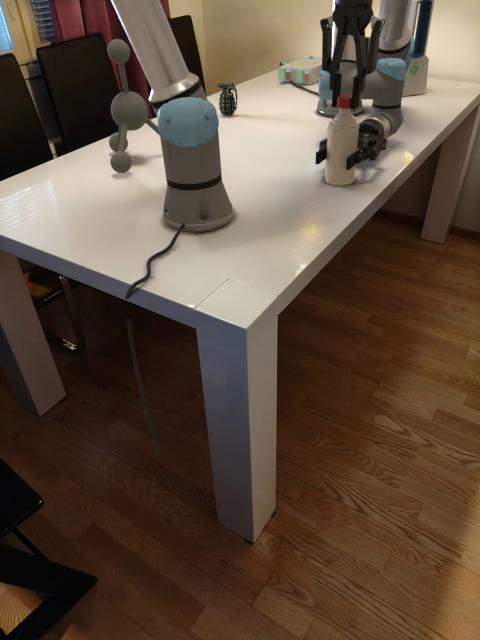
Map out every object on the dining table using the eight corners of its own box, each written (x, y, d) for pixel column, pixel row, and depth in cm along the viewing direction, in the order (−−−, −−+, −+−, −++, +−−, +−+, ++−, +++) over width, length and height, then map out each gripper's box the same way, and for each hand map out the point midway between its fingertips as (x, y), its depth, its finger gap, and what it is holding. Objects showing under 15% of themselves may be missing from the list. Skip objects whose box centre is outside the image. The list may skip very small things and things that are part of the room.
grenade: (217, 117, 168) (214, 86, 162) (221, 112, 172) (219, 82, 166) (235, 117, 166) (233, 86, 160) (239, 113, 171) (238, 82, 165)
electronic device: (395, 97, 177) (408, -1, 159) (385, 92, 183) (397, -3, 164) (425, 93, 179) (442, -4, 161) (414, 89, 185) (429, -6, 167)
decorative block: (301, 54, 217) (341, 57, 207) (300, 70, 221) (340, 74, 211) (269, 65, 201) (312, 69, 191) (269, 82, 205) (311, 87, 195)
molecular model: (195, 164, 133) (181, 39, 115) (114, 179, 127) (87, 50, 109) (172, 140, 150) (157, 28, 132) (101, 152, 145) (75, 37, 126)
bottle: (357, 176, 121) (366, 96, 110) (348, 187, 116) (356, 105, 105) (330, 172, 124) (336, 94, 113) (320, 183, 119) (324, 102, 108)
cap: (357, 105, 110) (358, 95, 108) (347, 109, 107) (348, 99, 106) (342, 103, 112) (343, 93, 111) (332, 107, 110) (333, 97, 108)
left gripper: (307, -17, 97) (303, 107, 111) (390, -19, 89) (375, 115, 103) (323, -21, 102) (318, 99, 116) (404, -22, 94) (387, 106, 108)
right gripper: (405, 153, 125) (371, 184, 111) (334, 142, 135) (294, 169, 120) (410, 123, 121) (375, 151, 106) (336, 113, 130) (294, 138, 116)
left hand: (345, 106), depth 110 cm, fingers closed on cap, 4 cm apart
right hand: (332, 161), depth 113 cm, fingers closed on bottle, 7 cm apart
